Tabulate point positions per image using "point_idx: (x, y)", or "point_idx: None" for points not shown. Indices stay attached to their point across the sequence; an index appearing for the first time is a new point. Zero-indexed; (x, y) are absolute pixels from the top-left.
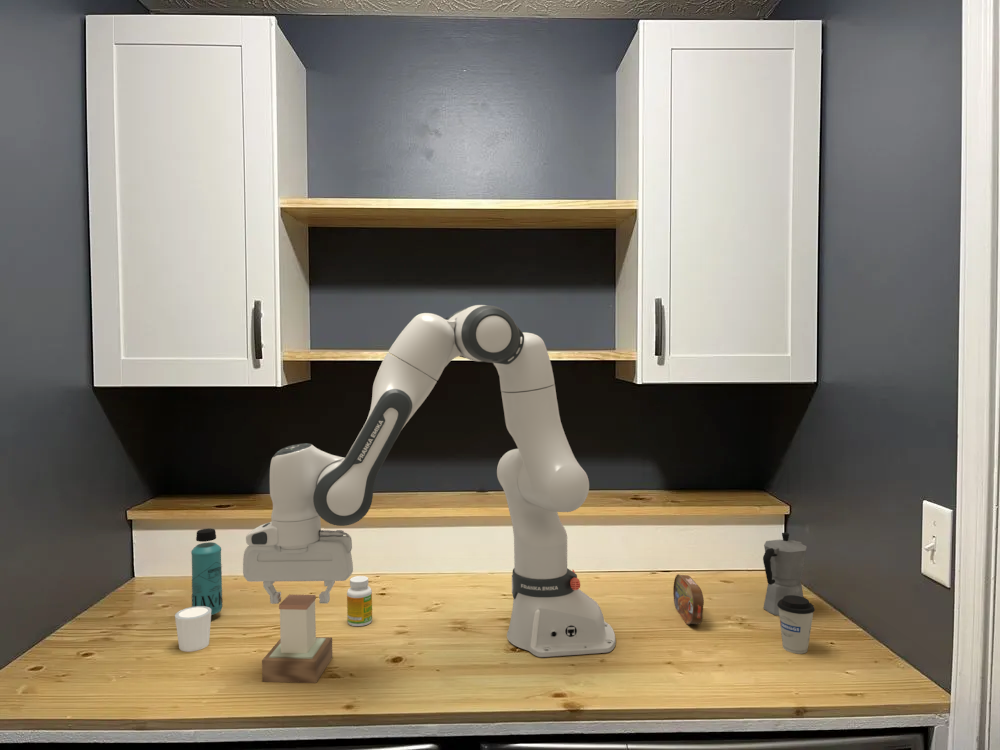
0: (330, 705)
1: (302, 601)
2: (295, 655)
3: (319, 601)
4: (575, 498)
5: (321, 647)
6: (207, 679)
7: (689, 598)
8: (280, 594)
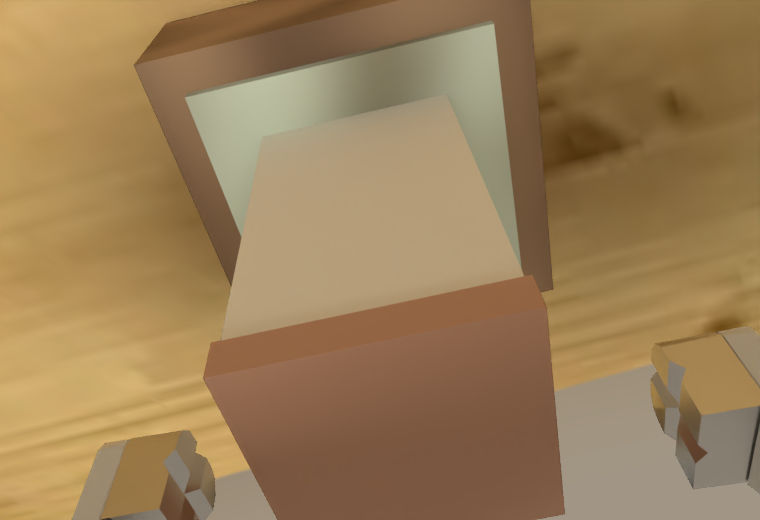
0: (648, 340)
1: (479, 468)
2: None
3: (662, 425)
4: None
5: (514, 139)
6: (10, 328)
7: None
8: (172, 494)
